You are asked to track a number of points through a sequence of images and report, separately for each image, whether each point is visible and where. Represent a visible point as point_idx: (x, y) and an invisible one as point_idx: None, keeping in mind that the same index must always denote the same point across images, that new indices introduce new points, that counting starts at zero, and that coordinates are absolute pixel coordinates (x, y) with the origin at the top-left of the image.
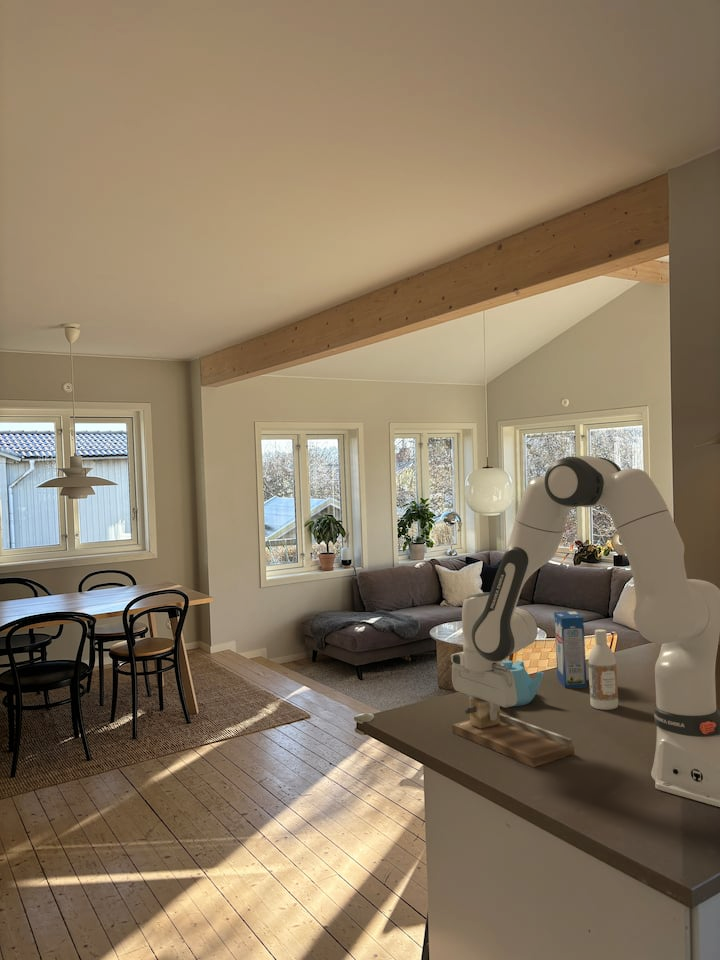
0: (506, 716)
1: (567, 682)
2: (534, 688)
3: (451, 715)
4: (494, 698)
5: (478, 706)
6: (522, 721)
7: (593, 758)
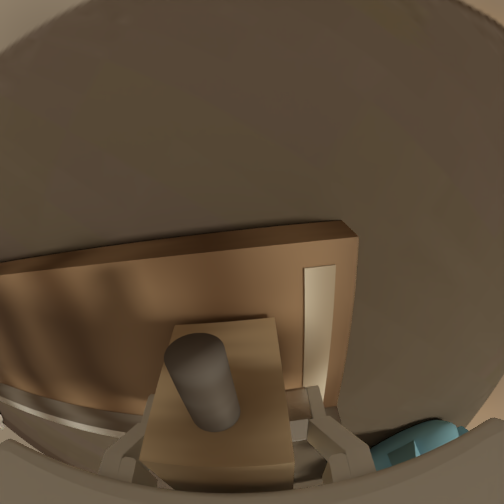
0: None
1: None
2: None
3: (468, 317)
4: (43, 487)
5: (164, 436)
6: None
7: None
